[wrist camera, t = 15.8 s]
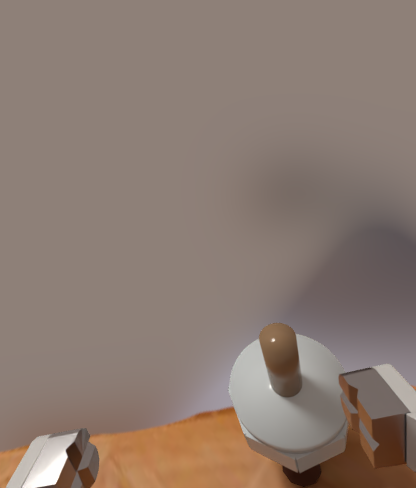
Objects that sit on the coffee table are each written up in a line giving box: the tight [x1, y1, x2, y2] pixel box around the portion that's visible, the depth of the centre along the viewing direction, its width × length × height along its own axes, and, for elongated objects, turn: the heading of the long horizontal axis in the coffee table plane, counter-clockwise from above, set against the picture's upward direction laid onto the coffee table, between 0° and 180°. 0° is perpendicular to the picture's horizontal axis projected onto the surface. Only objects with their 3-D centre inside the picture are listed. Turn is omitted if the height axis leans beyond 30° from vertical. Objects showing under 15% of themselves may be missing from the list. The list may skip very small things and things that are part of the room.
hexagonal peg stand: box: [228, 323, 349, 473], centre depth 35 cm, size 15×15×14 cm
